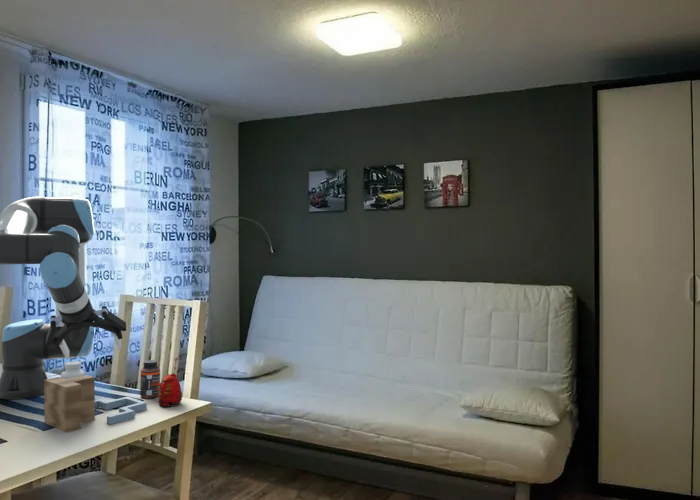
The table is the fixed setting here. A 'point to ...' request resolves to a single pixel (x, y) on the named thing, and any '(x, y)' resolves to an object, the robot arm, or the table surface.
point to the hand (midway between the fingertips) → (94, 349)
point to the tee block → (69, 402)
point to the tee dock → (125, 411)
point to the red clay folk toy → (170, 390)
